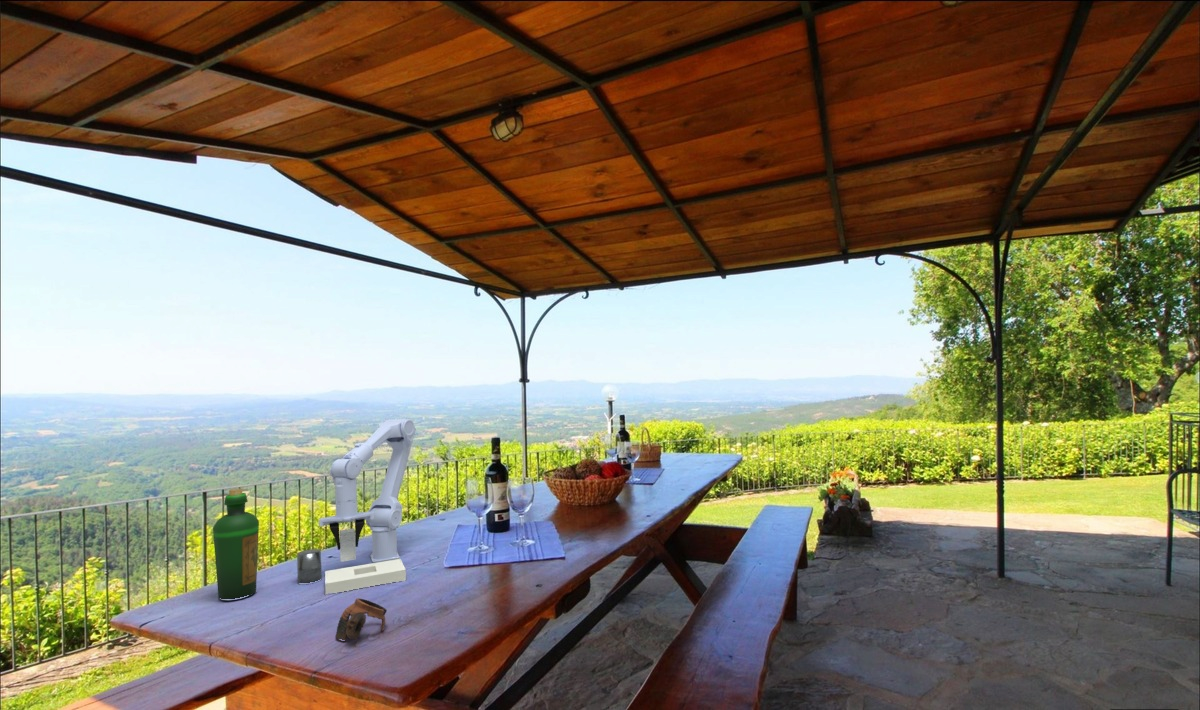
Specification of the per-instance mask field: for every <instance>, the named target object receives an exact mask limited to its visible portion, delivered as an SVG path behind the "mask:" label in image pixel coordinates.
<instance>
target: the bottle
mask: <svg viewBox="0 0 1200 710" xmlns="http://www.w3.org/2000/svg"><path fill="white" fill-rule="evenodd" d="M243 490H244V488H242V487H241V488H240V487H239V488H233V489H228V494H226V495H225V498H224V502H223V503H224V504H223V505H224V506H226V514H224V515H222V516H221V517H220V518H219V519H217V521H216V522H215V523H214V525H213V528H212V534H213V544H214V547H213V548H214V559H215V572H216V584H217V585H216V586H217V592H218V593H217V594H218V596H217V597H218V599H219V598H221V599H235V598H240V597H244V596H247V595H251V594H252V595H254V594H255V593H257V580H258V579H257V578H258V553H259V530H260V529H259V528H260V525H259V524H260V520H259V519H258V517H257V516H256V515H255V514H253V513H250V512H249V511H245V509H246V504H247V503H248V502H249V501H248V497H247V492H243ZM253 593H254V594H253ZM252 595H251V596H252Z"/></svg>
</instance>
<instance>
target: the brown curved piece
mask: <svg viewBox="0 0 1200 710" xmlns="http://www.w3.org/2000/svg"><path fill="white" fill-rule="evenodd" d="M387 611H388V610H387V609H386V608H385V607H383V606H382V605H380V604H378V603H376V602H374V601H371V600H367V599H364V598H356V599H355V600H354V603H352V604H350V605H348V606H347V608H345V609H344V611H343V612H342V614H341V616H340V617H339V621H338V623H337V626H336V632H335V638H336V639H337V638H338V639H342V640H345V639H346V640H347V638H349V639H350V640H356V639H358V638H360V637H359V636H360V635H361V631H362V629H363V628H364V626H365V623H366V619H367V617H371V618H373V619H375V618H376V619H378V620H381V626H380V631H381V632H383V631H384V630H383V629H385V625H386V616H385V615H386V613H388V612H387ZM366 614H367V615H366ZM338 639H337V640H338Z"/></svg>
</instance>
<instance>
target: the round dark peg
mask: <svg viewBox="0 0 1200 710" xmlns="http://www.w3.org/2000/svg"><path fill="white" fill-rule="evenodd" d="M296 559H297V560H296V561H297V562H296V565H297V571H296V573H297V584H298V583H310V582H315V581H318V580H320V579H321V578H322V549H319V548H312V549H311V548H310V549H306V550H302V551H299V552H298V553H296ZM321 580H322V579H321ZM321 580H320V581H321ZM318 582H319V581H318Z"/></svg>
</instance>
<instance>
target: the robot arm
mask: <svg viewBox="0 0 1200 710" xmlns="http://www.w3.org/2000/svg"><path fill="white" fill-rule="evenodd" d="M415 434H416V426H415V424H414V422H413V420H412V419H411V418H397V419H395V418H392V419H391V418H390V419H389V418H385V419H383V420H382V421H381V422H380V423H379V424H378V427H377V429H376V430H375V431H374V433H372V434H371V436H369V438H367V440H366V441H365V442H359V443H358V442H357V443H355V444H354V447H353V448H351V450H350V451H348V453H345V454H344V456H343V457H342V458H338V459H335V460H334V462H333V463H332V464H331V466H330V469H329V475H330V477H331V478H332V482H333V483H332V484H333V485H334V491H335V492H334V493H335V495H334V496H335V515H333V516H328V517H327V516H326V517H321V518H320V517H319V519H318V526H319V527H324V526H329V530H330V531H331V534H332V535H333V537H334V539H335V542H336V546H337V551H340V524H345V523H351V522H354V528H355V543H356V548H358V547H359V542H360V537H361V534H362V531H363V528H364V526H365V523H366V526H367V527H369V531H371V536H372V537H371V540H372V542H371V543H372V545H371V546H372V553H371V554H370V555H369V556H370V559H371V563H377V562H383V561H389V560H395V559H401V558H400V554H399V553H398V540H397V538H398V536H397V529H398V528H399V526H400V525H401V522H402V520H403V514H402V512H403V504H401V502H400V501H399V500H398V498H399V494H400V491H401V486H402V483H403V479H404V475H405V472H406V468H407V465H408V460H409V456H410V453H411V449H412V444H413V441H414V437H415ZM383 443H386V444H387V446H389V447H391V448H392V451H391V452H392V453H391V456H390V459H389V463H388V466H387V470H386V474H385V477H384V481H383V485H382V487H381V491H380V494H379V496H378V497H377V498H376V499H375V500H373V501H372V502H371V505H370V508H369V509H368V510H367V511H363V512H358V494H357V493H358V490H357V489H358V487H357V477H359V476H360V474H361V471H362V469H363V466H364V465H365V464H367V462H368V461H369V460H371V458H373V456H374V451H375V450H376V449H377V448H379V447H380V446H381V445H382V444H383Z"/></svg>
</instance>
